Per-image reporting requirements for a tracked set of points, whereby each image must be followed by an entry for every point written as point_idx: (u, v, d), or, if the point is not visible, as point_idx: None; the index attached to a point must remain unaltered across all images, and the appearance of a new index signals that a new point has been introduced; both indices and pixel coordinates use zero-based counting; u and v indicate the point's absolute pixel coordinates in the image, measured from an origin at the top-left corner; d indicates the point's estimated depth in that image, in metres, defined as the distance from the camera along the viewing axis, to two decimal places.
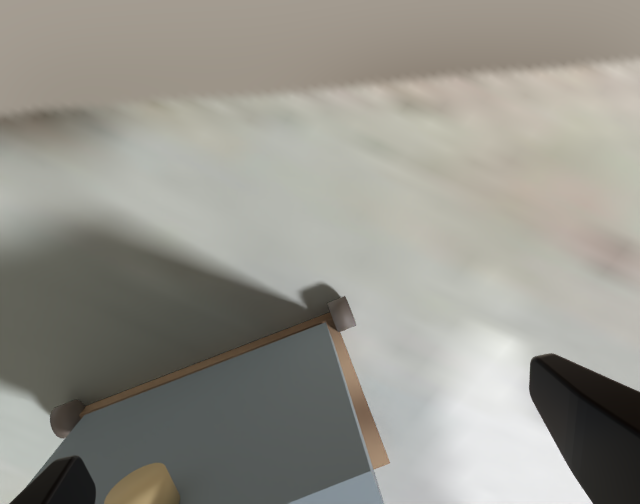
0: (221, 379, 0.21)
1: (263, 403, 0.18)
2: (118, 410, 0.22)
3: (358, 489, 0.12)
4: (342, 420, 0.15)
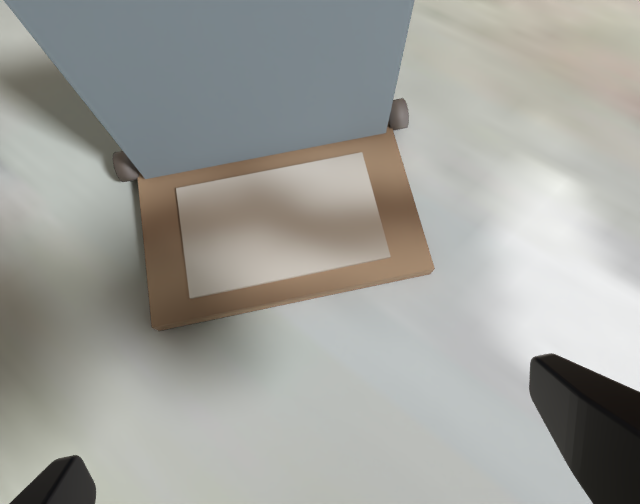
0: None
1: None
2: None
3: None
4: None
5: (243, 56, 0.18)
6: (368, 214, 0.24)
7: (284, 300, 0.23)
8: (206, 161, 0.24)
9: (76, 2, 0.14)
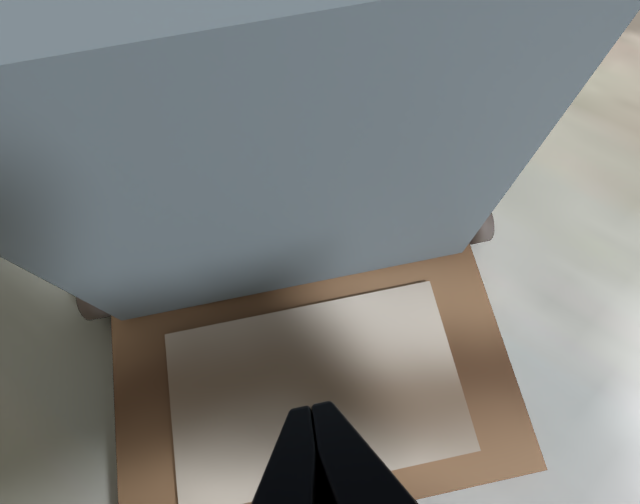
0: None
1: None
2: None
3: None
4: None
5: (270, 191, 0.11)
6: (443, 379, 0.16)
7: None
8: (208, 297, 0.17)
9: None
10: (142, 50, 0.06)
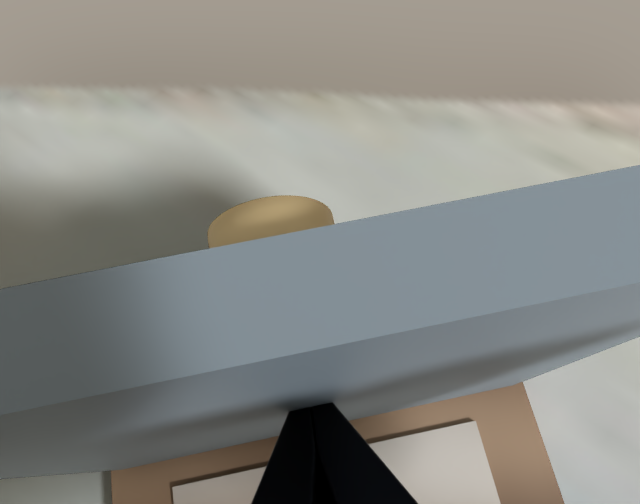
0: None
1: None
2: None
3: None
4: None
5: (308, 405, 0.08)
6: None
7: None
8: (222, 446, 0.14)
9: None
10: (152, 384, 0.04)
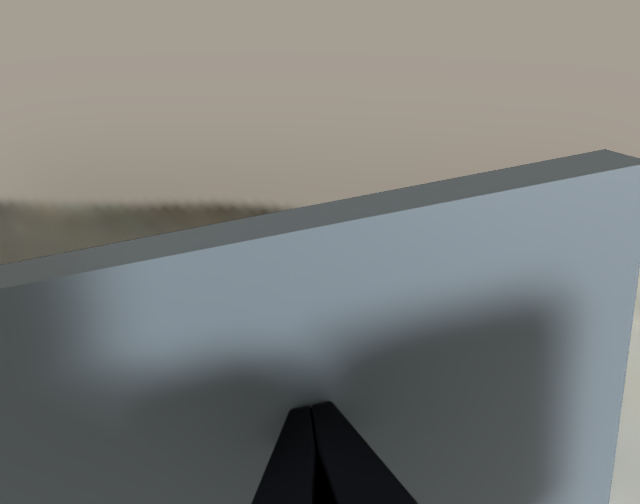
0: None
1: None
2: None
3: (594, 157, 0.09)
4: None
5: None
6: None
7: None
8: None
9: (16, 351, 0.08)
10: (201, 259, 0.08)
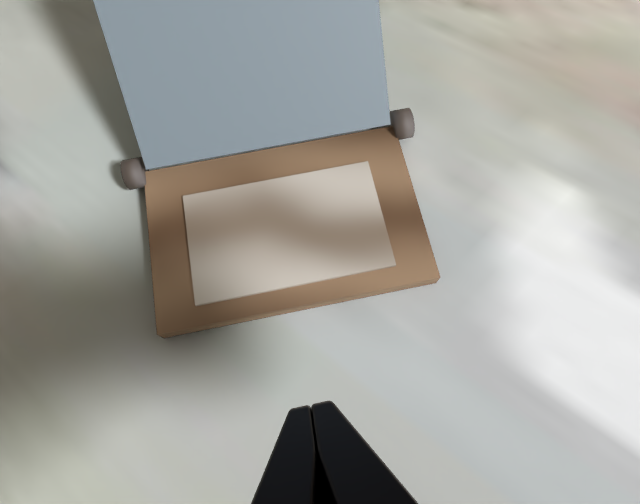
0: None
1: None
2: None
3: None
4: None
5: None
6: (374, 222, 0.24)
7: (289, 308, 0.23)
8: (208, 145, 0.24)
9: None
10: None
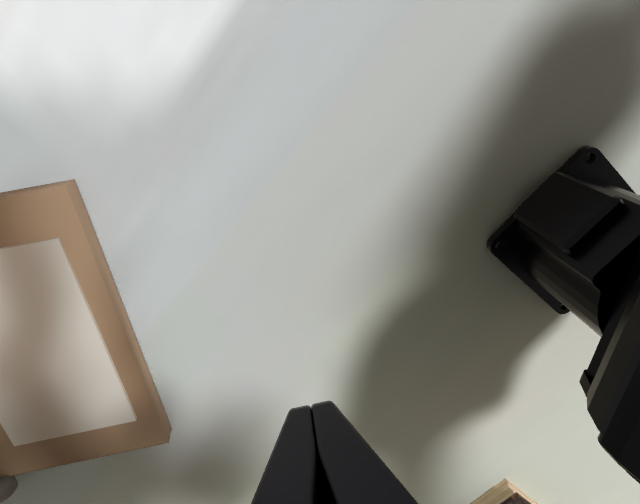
0: None
1: None
2: None
3: None
4: None
5: None
6: (3, 261, 0.19)
7: (128, 340, 0.22)
8: None
9: None
10: None
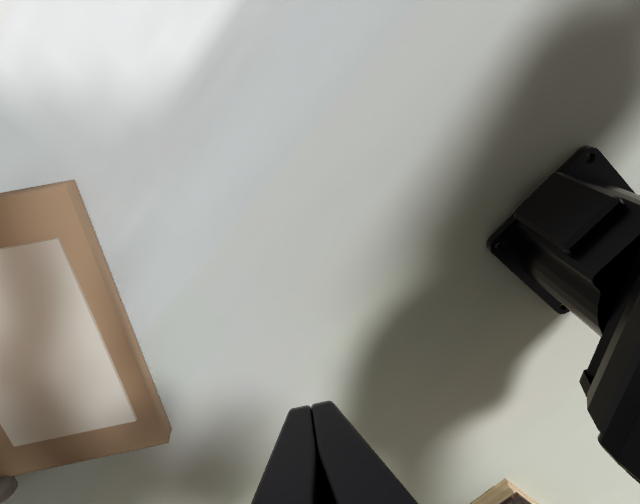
0: None
1: None
2: None
3: None
4: None
5: None
6: (3, 261, 0.19)
7: (128, 340, 0.22)
8: None
9: None
10: None
